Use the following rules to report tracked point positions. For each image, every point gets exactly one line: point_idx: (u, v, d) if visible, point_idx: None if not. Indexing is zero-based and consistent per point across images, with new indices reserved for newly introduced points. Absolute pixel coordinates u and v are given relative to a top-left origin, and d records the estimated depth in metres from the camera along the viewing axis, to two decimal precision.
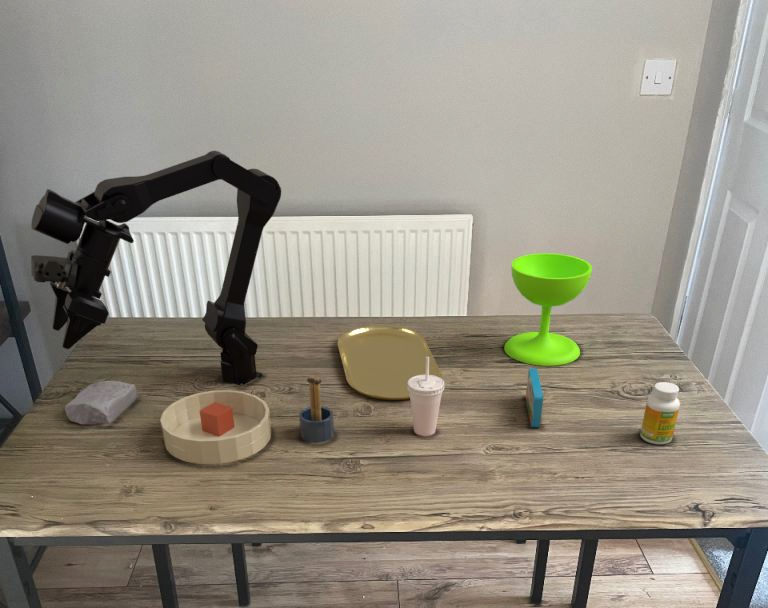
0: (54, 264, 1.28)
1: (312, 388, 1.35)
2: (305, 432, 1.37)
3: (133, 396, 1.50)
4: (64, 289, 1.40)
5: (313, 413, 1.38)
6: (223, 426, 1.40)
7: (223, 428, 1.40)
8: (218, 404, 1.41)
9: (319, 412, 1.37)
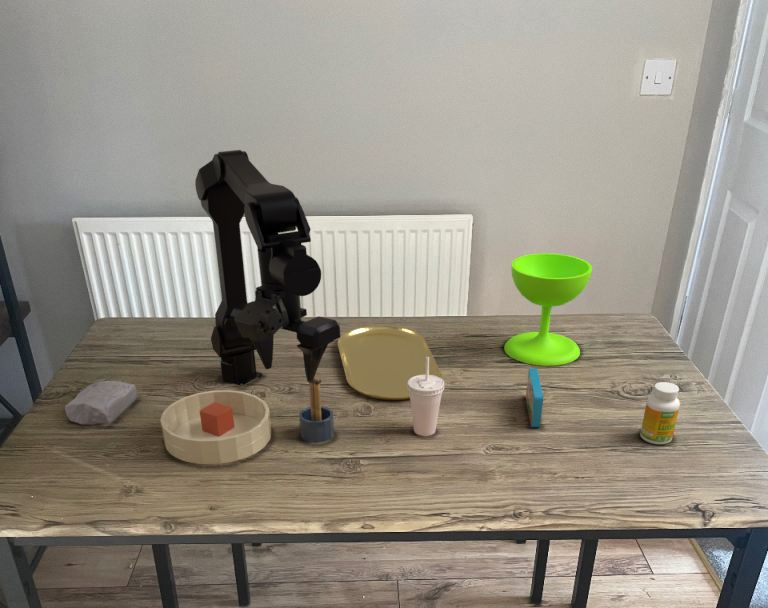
0: (273, 314, 1.18)
1: (312, 388, 1.35)
2: (305, 432, 1.37)
3: (133, 396, 1.50)
4: None
5: (313, 413, 1.38)
6: (223, 426, 1.40)
7: (223, 428, 1.40)
8: (218, 404, 1.41)
9: (319, 412, 1.37)
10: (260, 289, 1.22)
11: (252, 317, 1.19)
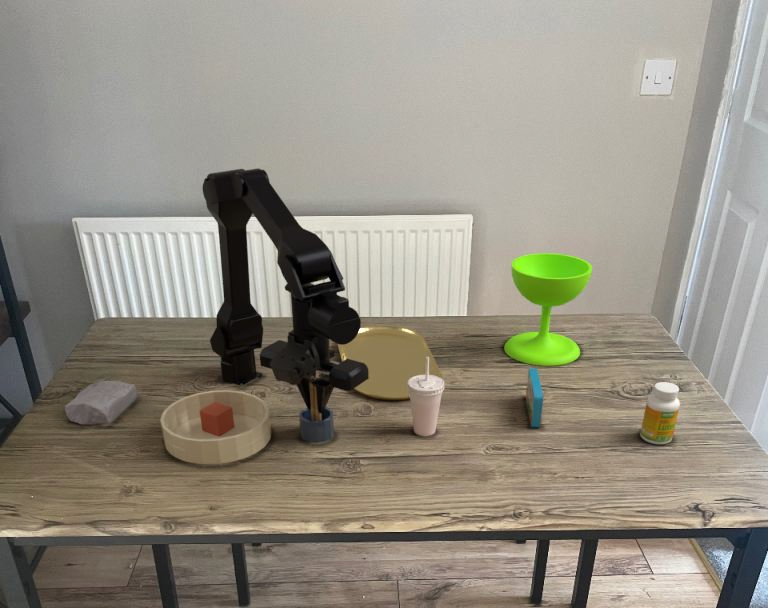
0: (309, 361, 1.24)
1: (312, 388, 1.35)
2: (305, 432, 1.37)
3: (133, 396, 1.50)
4: None
5: (313, 413, 1.38)
6: (223, 426, 1.40)
7: (223, 428, 1.40)
8: (218, 404, 1.41)
9: None
10: (293, 334, 1.28)
11: (287, 363, 1.26)
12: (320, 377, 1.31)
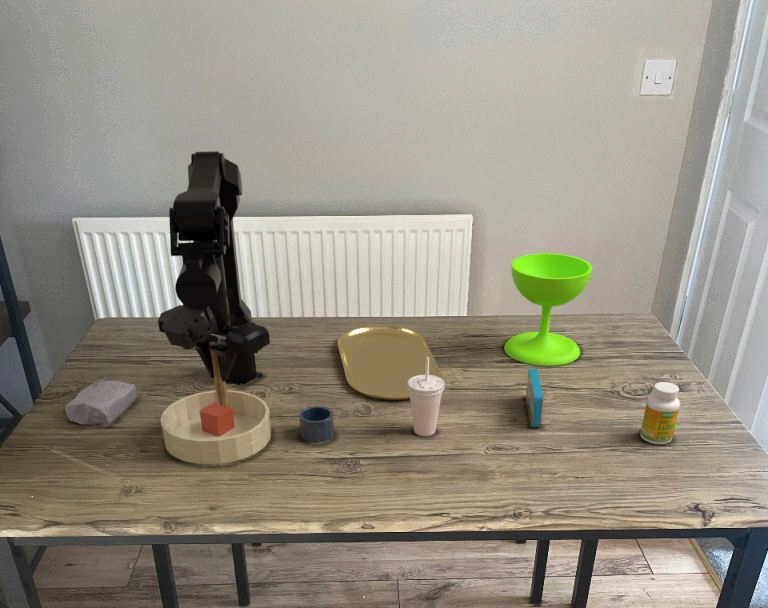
0: (202, 323, 1.17)
1: (214, 355, 1.28)
2: (305, 432, 1.37)
3: (133, 396, 1.50)
4: None
5: (217, 382, 1.31)
6: (223, 426, 1.40)
7: (223, 428, 1.40)
8: None
9: None
10: None
11: (180, 325, 1.19)
12: (219, 342, 1.24)
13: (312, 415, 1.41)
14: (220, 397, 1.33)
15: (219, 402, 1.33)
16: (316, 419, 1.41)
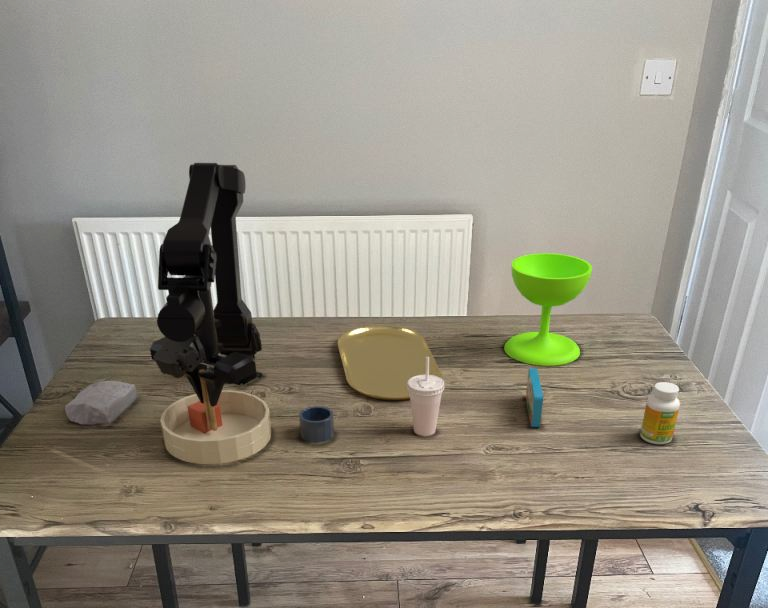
0: (191, 354, 1.24)
1: (203, 382, 1.35)
2: (305, 432, 1.37)
3: (133, 396, 1.50)
4: None
5: (206, 407, 1.37)
6: None
7: None
8: None
9: None
10: None
11: (170, 355, 1.25)
12: (208, 370, 1.31)
13: (312, 415, 1.41)
14: (209, 421, 1.39)
15: (209, 426, 1.40)
16: (316, 419, 1.41)
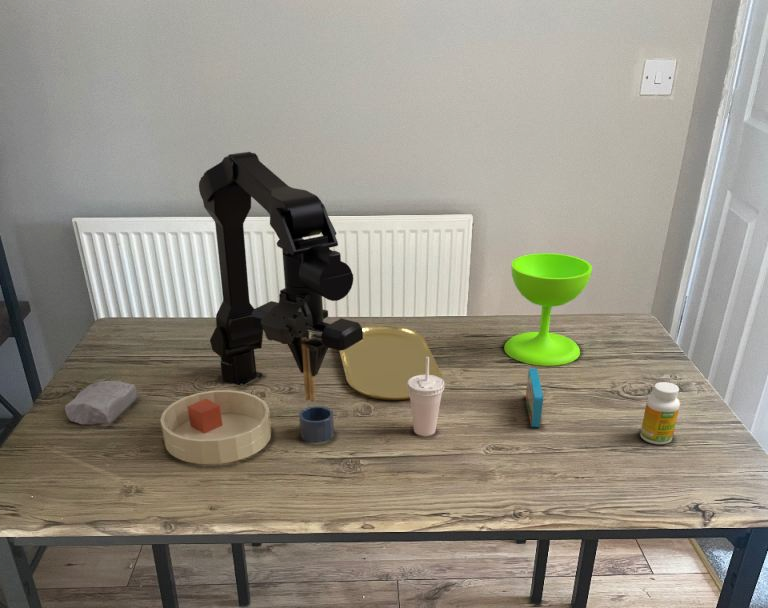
0: (301, 319, 1.20)
1: (305, 350, 1.31)
2: (305, 432, 1.37)
3: (133, 396, 1.50)
4: None
5: (306, 377, 1.34)
6: (209, 423, 1.40)
7: (209, 425, 1.41)
8: (208, 401, 1.42)
9: None
10: (284, 292, 1.24)
11: (279, 321, 1.22)
12: (313, 337, 1.27)
13: (312, 415, 1.41)
14: (308, 392, 1.35)
15: (307, 397, 1.36)
16: (316, 419, 1.41)
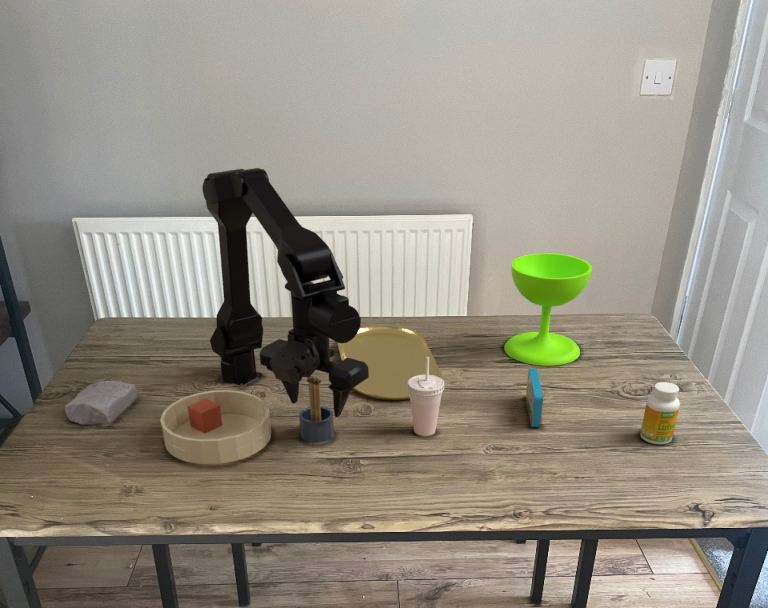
0: (309, 360, 1.24)
1: (312, 388, 1.35)
2: (305, 432, 1.37)
3: (133, 396, 1.50)
4: None
5: (313, 413, 1.38)
6: (209, 423, 1.40)
7: (209, 425, 1.41)
8: (208, 401, 1.42)
9: (319, 412, 1.37)
10: (292, 333, 1.28)
11: (287, 361, 1.25)
12: None
13: None
14: None
15: None
16: None
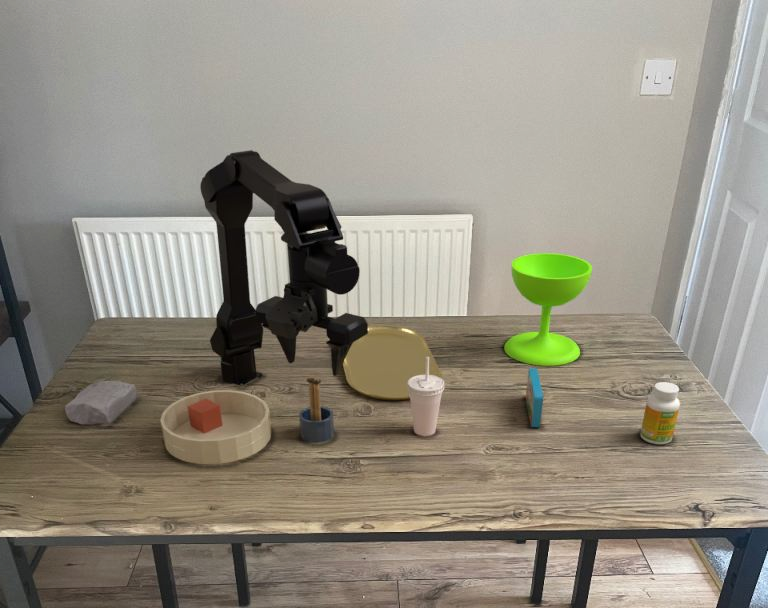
0: (306, 313, 1.20)
1: (312, 388, 1.35)
2: (305, 432, 1.37)
3: (133, 396, 1.50)
4: None
5: (313, 413, 1.38)
6: (209, 423, 1.40)
7: (209, 425, 1.41)
8: (208, 401, 1.42)
9: (319, 412, 1.37)
10: (289, 286, 1.23)
11: (283, 315, 1.21)
12: None
13: None
14: None
15: None
16: None
